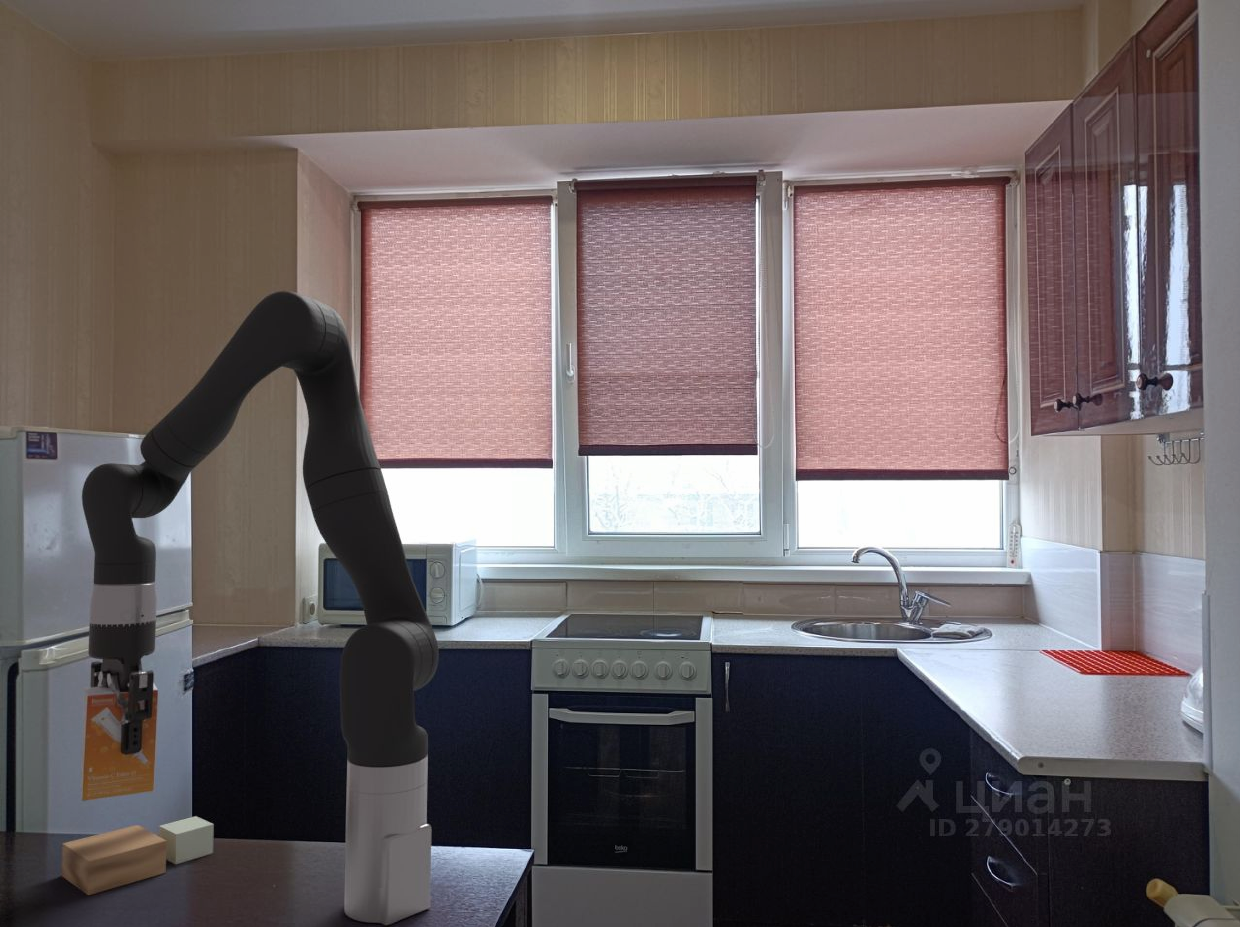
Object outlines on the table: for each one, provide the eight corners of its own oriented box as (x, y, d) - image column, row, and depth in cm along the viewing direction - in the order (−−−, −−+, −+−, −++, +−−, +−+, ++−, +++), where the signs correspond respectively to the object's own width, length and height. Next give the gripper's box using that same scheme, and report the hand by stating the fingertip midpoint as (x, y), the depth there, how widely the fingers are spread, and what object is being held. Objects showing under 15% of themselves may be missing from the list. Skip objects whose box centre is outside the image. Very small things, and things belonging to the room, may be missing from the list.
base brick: (165, 872, 114) (166, 840, 114) (88, 895, 107) (89, 861, 108) (136, 855, 120) (137, 824, 120) (61, 875, 113) (62, 843, 113)
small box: (81, 803, 109) (85, 695, 110) (79, 789, 115) (83, 686, 115) (155, 791, 114) (159, 688, 114) (149, 779, 119) (153, 680, 120)
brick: (212, 854, 121) (213, 824, 121) (175, 865, 117) (176, 834, 117) (194, 845, 124) (195, 816, 124) (157, 856, 120) (159, 825, 120)
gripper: (177, 620, 114) (173, 752, 113) (131, 611, 123) (127, 733, 122) (114, 625, 108) (108, 764, 107) (70, 616, 117) (65, 744, 116)
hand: (118, 747), depth 114 cm, fingers closed on small box, 7 cm apart
